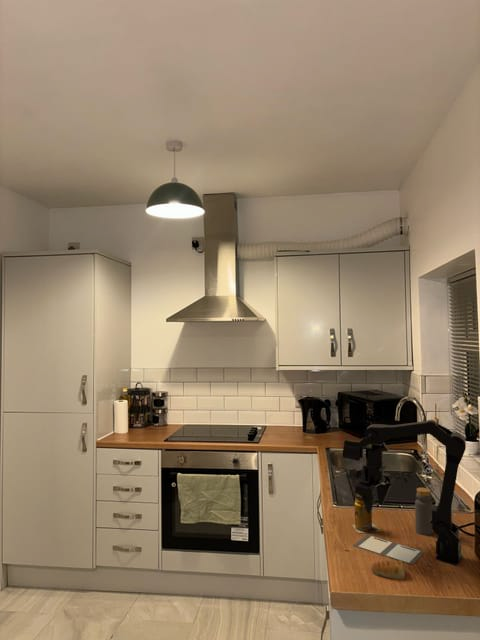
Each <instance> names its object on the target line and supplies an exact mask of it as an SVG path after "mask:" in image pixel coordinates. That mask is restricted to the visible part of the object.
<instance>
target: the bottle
mask: <svg viewBox="0 0 480 640" xmlns="http://www.w3.org/2000/svg"><path fill="white" fill-rule="evenodd" d="M431 492H432V491H431V489H430V488H427V487H417V488H416V494H415V497H416V498H417V499H415V501H414V511H415V513H414V515H415V516H414V518H415V519H414V520H415V521H414V522H415V523H414V525H415V531H416V533H418V534H419V535H422V536H423V535H424V536H430V535H433V533H434V531H433V530H432V523H430V518H431V514H432V507H433V502H432V501H431V499H432V495H431Z"/></svg>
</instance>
